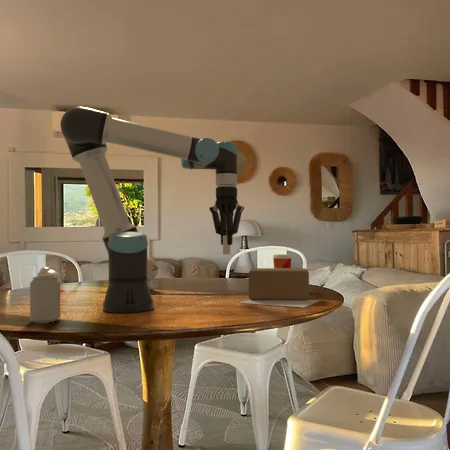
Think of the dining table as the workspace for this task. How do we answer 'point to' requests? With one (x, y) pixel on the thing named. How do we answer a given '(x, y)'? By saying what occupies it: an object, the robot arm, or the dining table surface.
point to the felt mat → (282, 302)
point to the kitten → (151, 272)
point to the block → (278, 284)
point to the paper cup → (282, 261)
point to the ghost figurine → (48, 273)
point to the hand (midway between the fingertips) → (226, 254)
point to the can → (44, 299)
